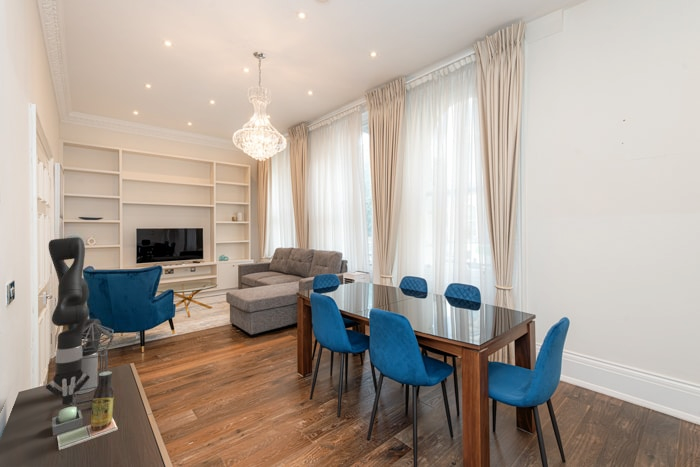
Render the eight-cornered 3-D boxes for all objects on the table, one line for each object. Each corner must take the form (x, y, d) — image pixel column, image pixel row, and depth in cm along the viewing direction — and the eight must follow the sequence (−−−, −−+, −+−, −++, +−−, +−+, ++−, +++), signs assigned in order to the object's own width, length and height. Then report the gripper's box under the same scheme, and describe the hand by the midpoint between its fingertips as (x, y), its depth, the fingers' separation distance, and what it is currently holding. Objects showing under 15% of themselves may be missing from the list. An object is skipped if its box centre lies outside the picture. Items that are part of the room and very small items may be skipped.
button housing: (52, 426, 117) (52, 418, 117) (80, 418, 123) (80, 409, 123) (53, 435, 111) (53, 426, 112) (82, 426, 117) (82, 418, 117)
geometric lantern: (64, 403, 134) (70, 321, 136) (110, 393, 143) (115, 317, 145) (59, 419, 121) (66, 329, 123) (110, 407, 131) (115, 324, 133)
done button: (58, 420, 117) (58, 410, 117) (75, 415, 121) (75, 405, 121) (58, 426, 114) (59, 415, 114) (76, 420, 117) (77, 410, 117)
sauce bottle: (86, 432, 112) (88, 377, 113) (95, 423, 118) (97, 370, 119) (108, 430, 114) (109, 375, 114) (115, 420, 120) (117, 369, 121)
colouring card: (57, 437, 111) (57, 434, 111) (112, 419, 122) (112, 417, 122) (59, 450, 104) (59, 448, 104) (117, 429, 115) (117, 427, 115)
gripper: (45, 366, 110) (42, 415, 110) (92, 356, 120) (91, 401, 119) (44, 360, 116) (42, 407, 115) (90, 351, 125) (88, 395, 124)
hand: (67, 404), depth 117 cm, fingers closed
